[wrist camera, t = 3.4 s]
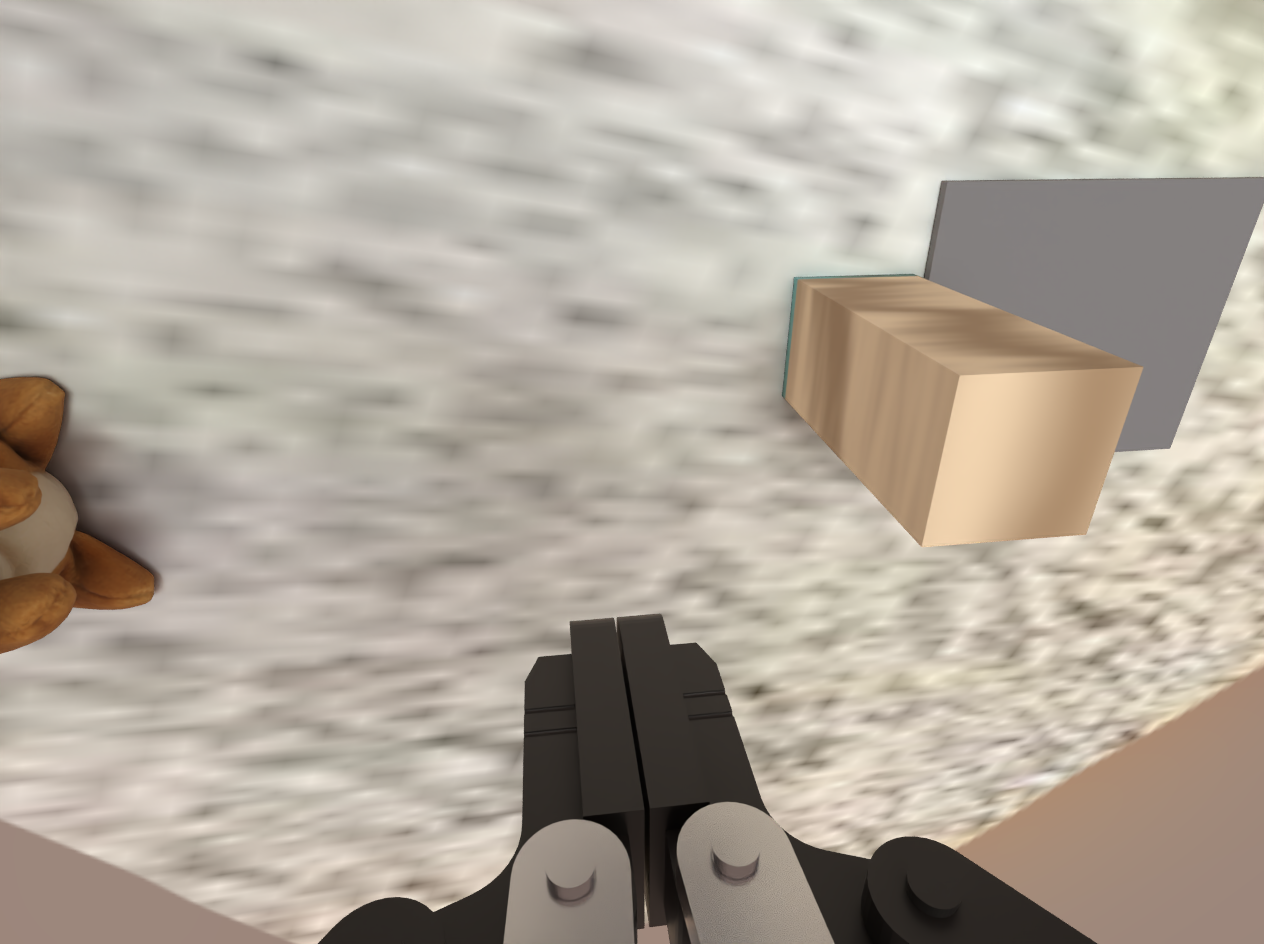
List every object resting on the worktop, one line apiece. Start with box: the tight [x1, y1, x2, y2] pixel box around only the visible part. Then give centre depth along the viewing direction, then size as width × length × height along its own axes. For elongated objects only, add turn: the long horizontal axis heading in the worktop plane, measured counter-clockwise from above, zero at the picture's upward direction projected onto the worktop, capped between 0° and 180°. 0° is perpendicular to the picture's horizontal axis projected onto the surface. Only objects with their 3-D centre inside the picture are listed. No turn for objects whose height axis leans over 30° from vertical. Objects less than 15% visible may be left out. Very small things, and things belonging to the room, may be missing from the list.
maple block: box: [782, 274, 1143, 547], centre depth 24 cm, size 5×5×12 cm
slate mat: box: [924, 177, 1264, 452], centre depth 30 cm, size 14×12×1 cm
